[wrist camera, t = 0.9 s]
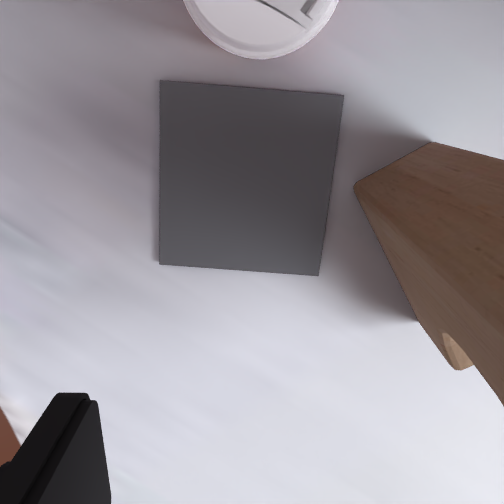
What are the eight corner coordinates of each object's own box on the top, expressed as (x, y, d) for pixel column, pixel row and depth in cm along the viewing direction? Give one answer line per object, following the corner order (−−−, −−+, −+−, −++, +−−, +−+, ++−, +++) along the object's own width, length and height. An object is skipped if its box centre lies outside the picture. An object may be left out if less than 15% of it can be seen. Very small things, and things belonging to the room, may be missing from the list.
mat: (342, 95, 33) (344, 95, 33) (317, 273, 38) (318, 276, 38) (161, 80, 33) (159, 80, 32) (160, 262, 38) (159, 264, 37)
